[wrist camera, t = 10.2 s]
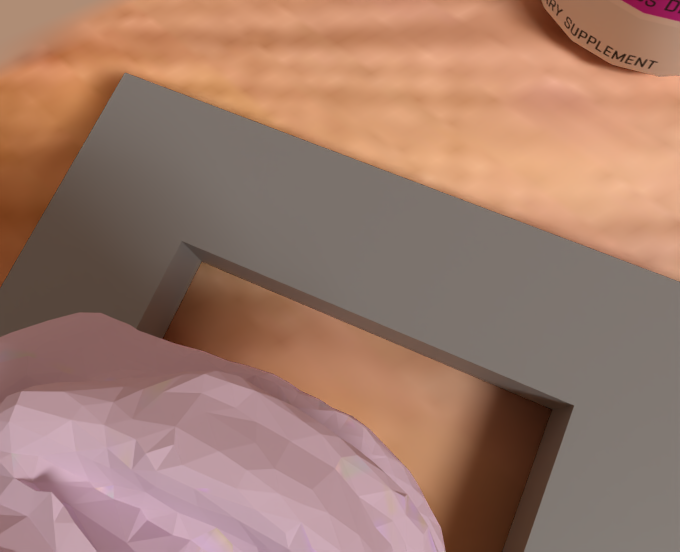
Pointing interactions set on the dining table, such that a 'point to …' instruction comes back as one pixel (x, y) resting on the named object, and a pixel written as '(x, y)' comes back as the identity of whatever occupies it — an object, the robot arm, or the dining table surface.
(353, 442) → the ice cream cone
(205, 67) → the dining table surface
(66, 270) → the grey flat square frame
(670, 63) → the supplement can
